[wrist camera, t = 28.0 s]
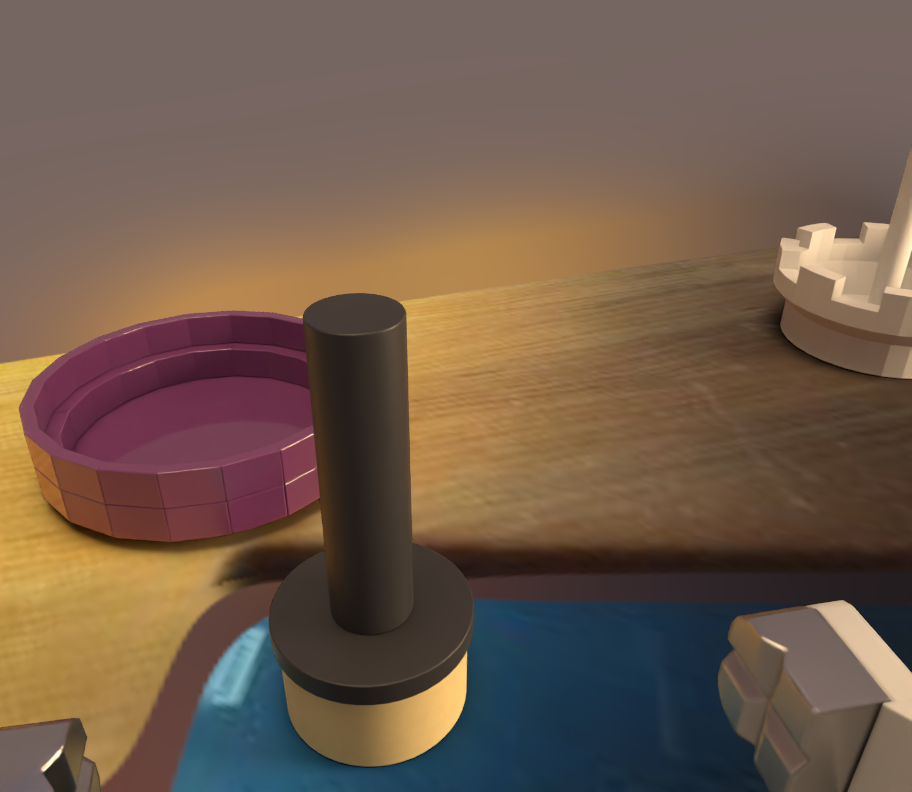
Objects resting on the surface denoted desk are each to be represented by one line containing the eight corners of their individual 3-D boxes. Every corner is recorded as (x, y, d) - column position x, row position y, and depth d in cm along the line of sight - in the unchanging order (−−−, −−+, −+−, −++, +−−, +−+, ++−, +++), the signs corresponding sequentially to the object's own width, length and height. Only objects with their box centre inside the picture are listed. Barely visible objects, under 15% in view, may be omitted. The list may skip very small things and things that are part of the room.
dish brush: (282, 790, 24) (218, 384, 17) (279, 632, 30) (228, 275, 23) (492, 753, 25) (509, 358, 18) (451, 607, 31) (453, 259, 24)
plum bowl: (4, 575, 32) (-26, 493, 30) (76, 389, 45) (59, 323, 43) (388, 527, 35) (384, 449, 33) (352, 364, 48) (348, 301, 46)
